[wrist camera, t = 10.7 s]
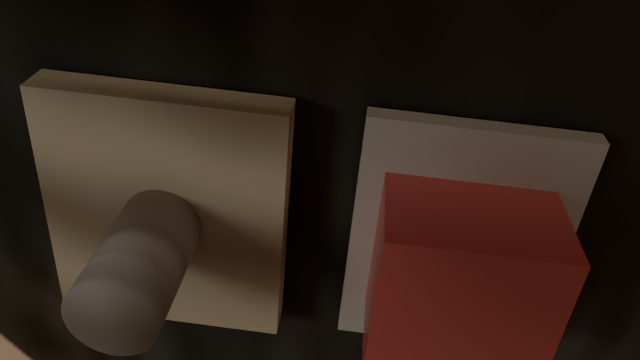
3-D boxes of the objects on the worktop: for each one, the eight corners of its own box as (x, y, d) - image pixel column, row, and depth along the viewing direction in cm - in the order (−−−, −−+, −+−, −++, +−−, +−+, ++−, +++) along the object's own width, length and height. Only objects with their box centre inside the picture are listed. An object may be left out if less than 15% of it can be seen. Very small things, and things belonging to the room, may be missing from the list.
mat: (367, 106, 21) (366, 116, 20) (602, 133, 20) (610, 144, 20) (339, 315, 26) (337, 329, 25) (525, 339, 26) (528, 354, 25)
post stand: (41, 68, 21) (-80, 161, 16) (295, 98, 21) (262, 203, 15) (79, 281, 26) (-1, 407, 21) (282, 308, 26) (253, 442, 21)
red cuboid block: (365, 297, 24) (361, 377, 21) (385, 172, 21) (384, 242, 18) (514, 316, 24) (535, 400, 21) (557, 192, 21) (590, 267, 17)
